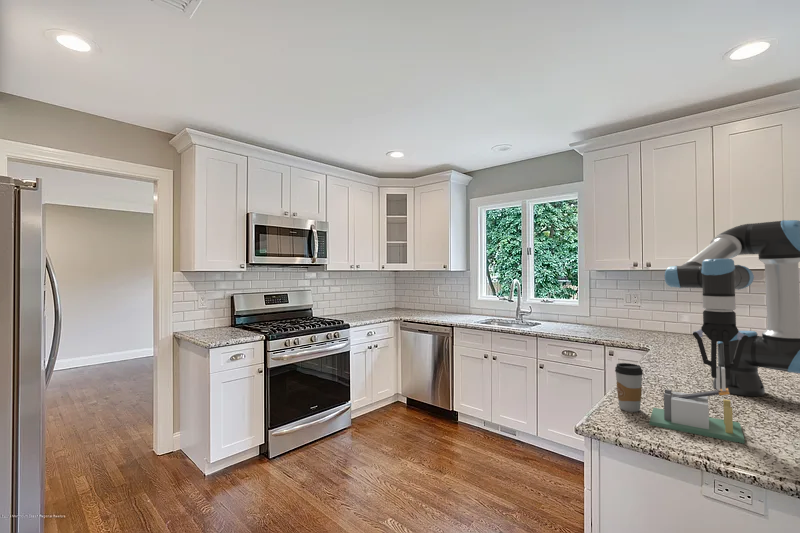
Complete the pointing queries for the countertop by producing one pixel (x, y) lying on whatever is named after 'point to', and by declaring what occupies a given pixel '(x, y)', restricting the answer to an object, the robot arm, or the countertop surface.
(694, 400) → the heatsink base
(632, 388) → the coffee cup
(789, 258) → the robot arm
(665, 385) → the countertop surface
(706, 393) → the strap
